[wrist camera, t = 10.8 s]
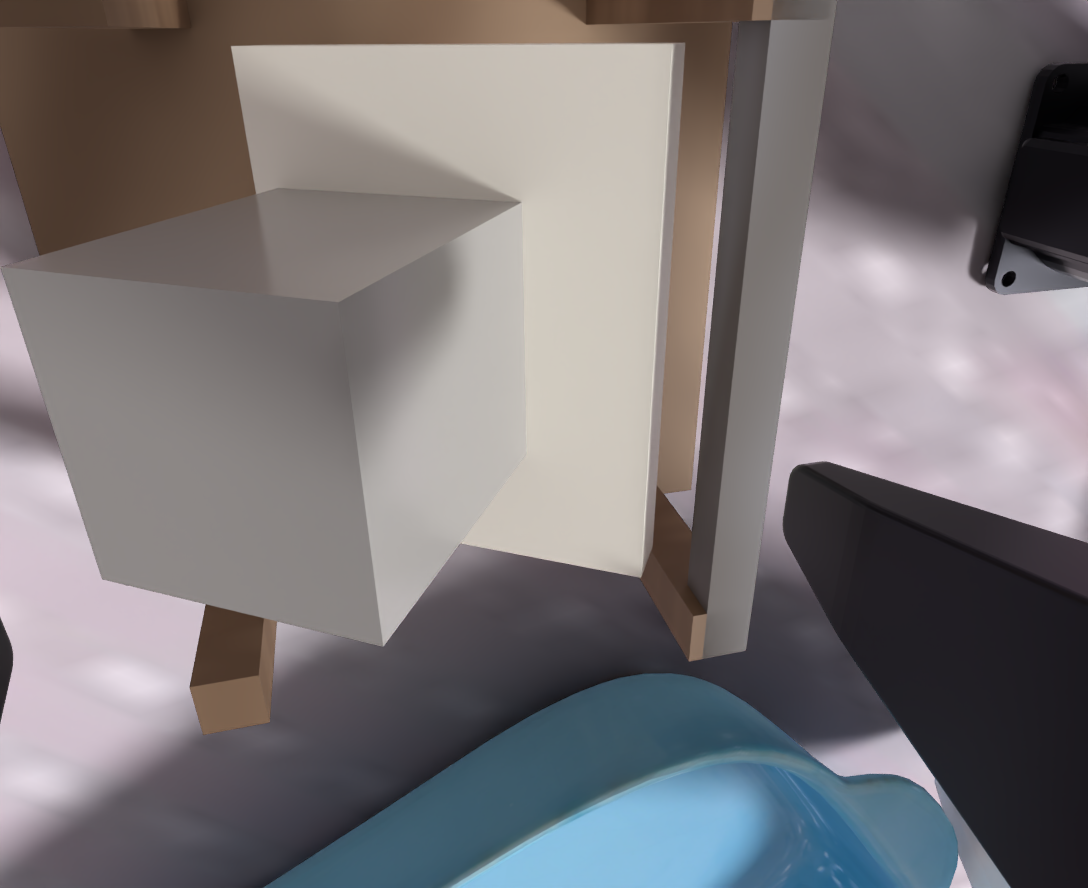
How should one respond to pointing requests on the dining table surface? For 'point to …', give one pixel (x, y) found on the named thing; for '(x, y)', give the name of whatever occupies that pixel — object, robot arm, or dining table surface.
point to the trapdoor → (548, 238)
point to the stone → (286, 396)
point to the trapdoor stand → (465, 18)
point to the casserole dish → (645, 807)
